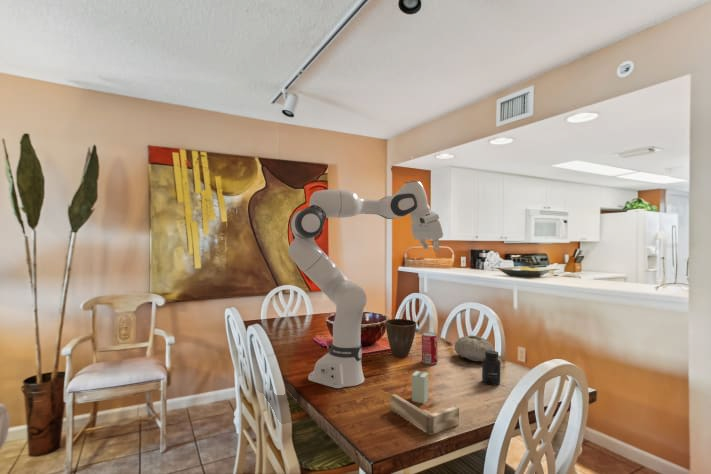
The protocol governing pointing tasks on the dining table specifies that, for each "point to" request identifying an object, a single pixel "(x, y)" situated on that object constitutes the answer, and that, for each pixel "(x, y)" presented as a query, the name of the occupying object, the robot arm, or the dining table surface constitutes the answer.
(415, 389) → the sage block
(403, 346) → the plant pot
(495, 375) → the supplement bottle
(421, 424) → the corner bracket
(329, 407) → the dining table surface
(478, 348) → the decorative shell
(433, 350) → the soda can
